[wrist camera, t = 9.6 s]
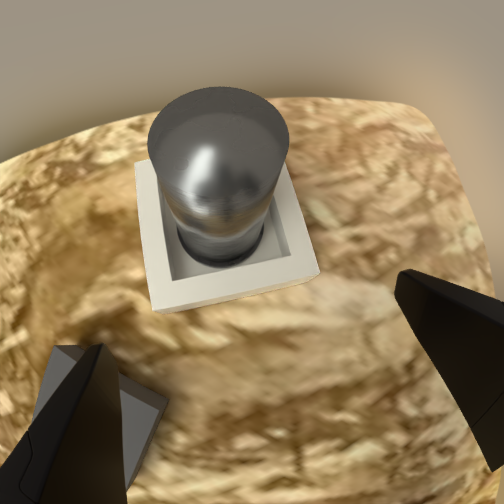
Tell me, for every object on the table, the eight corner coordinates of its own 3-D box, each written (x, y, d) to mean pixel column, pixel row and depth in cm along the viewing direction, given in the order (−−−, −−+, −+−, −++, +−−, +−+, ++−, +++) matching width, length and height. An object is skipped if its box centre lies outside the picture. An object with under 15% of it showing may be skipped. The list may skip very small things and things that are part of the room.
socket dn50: (306, 282, 18) (320, 273, 15) (163, 314, 17) (152, 310, 14) (269, 160, 20) (275, 136, 18) (144, 184, 19) (134, 162, 16)
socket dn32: (134, 479, 13) (122, 497, 11) (49, 425, 14) (28, 435, 11) (169, 399, 15) (159, 410, 13) (75, 345, 16) (54, 345, 13)
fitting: (212, 286, 17) (199, 235, 8) (162, 220, 18) (117, 128, 9) (280, 233, 18) (325, 147, 9) (227, 175, 19) (232, 68, 10)
